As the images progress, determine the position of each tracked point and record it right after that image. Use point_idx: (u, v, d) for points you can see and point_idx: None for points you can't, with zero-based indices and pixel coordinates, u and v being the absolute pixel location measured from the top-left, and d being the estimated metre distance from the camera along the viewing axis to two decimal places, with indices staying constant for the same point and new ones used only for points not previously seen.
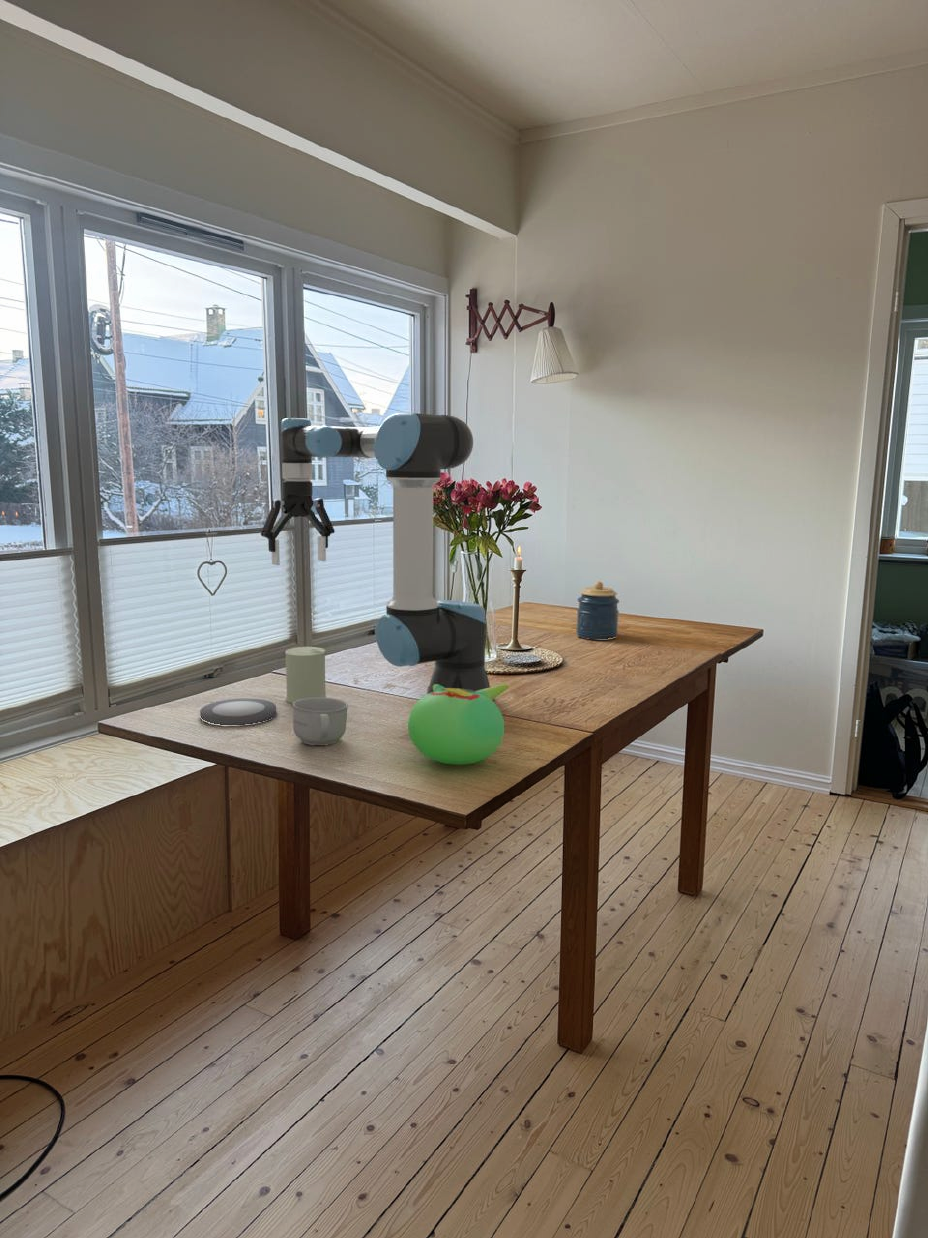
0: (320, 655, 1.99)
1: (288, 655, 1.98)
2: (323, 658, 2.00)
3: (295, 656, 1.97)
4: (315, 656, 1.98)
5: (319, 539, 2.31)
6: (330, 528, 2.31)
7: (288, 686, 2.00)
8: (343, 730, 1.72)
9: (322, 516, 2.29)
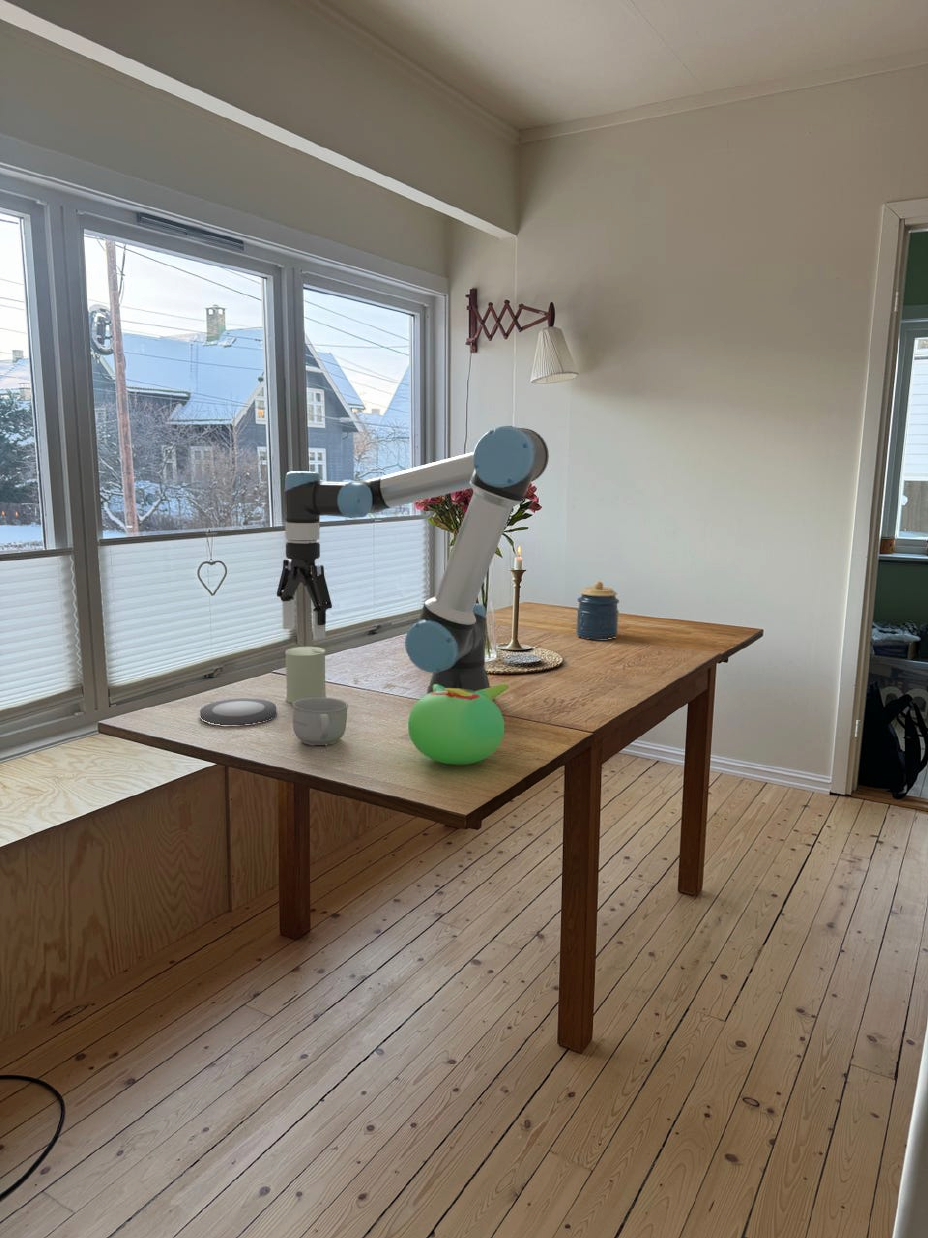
0: (320, 655, 1.99)
1: (288, 655, 1.98)
2: (323, 658, 2.00)
3: (295, 656, 1.97)
4: (315, 656, 1.98)
5: None
6: (319, 602, 1.91)
7: (288, 686, 2.00)
8: (343, 730, 1.72)
9: None
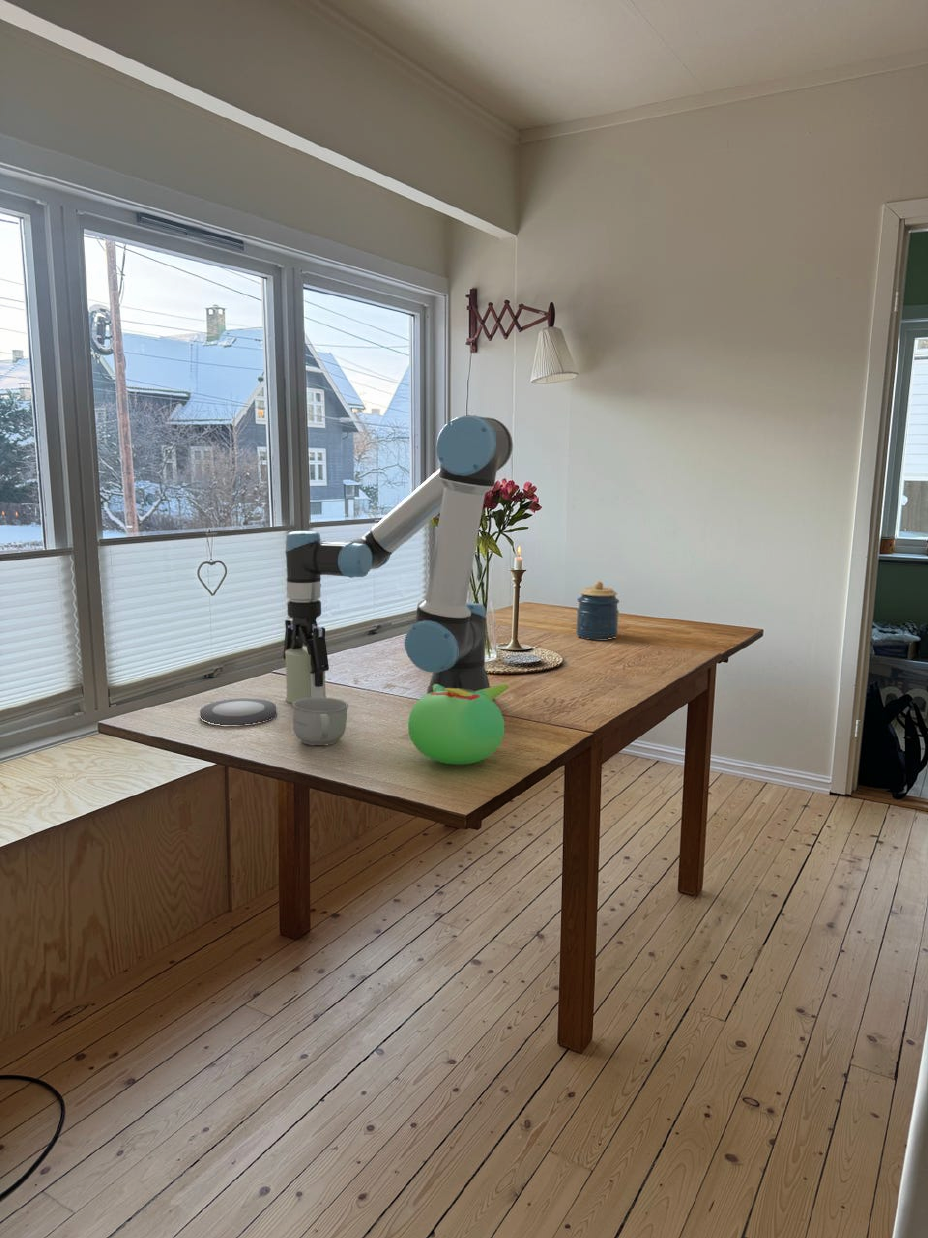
0: None
1: (288, 655, 1.98)
2: None
3: (295, 656, 1.97)
4: None
5: None
6: (317, 665, 1.95)
7: (288, 686, 2.00)
8: (343, 730, 1.72)
9: None
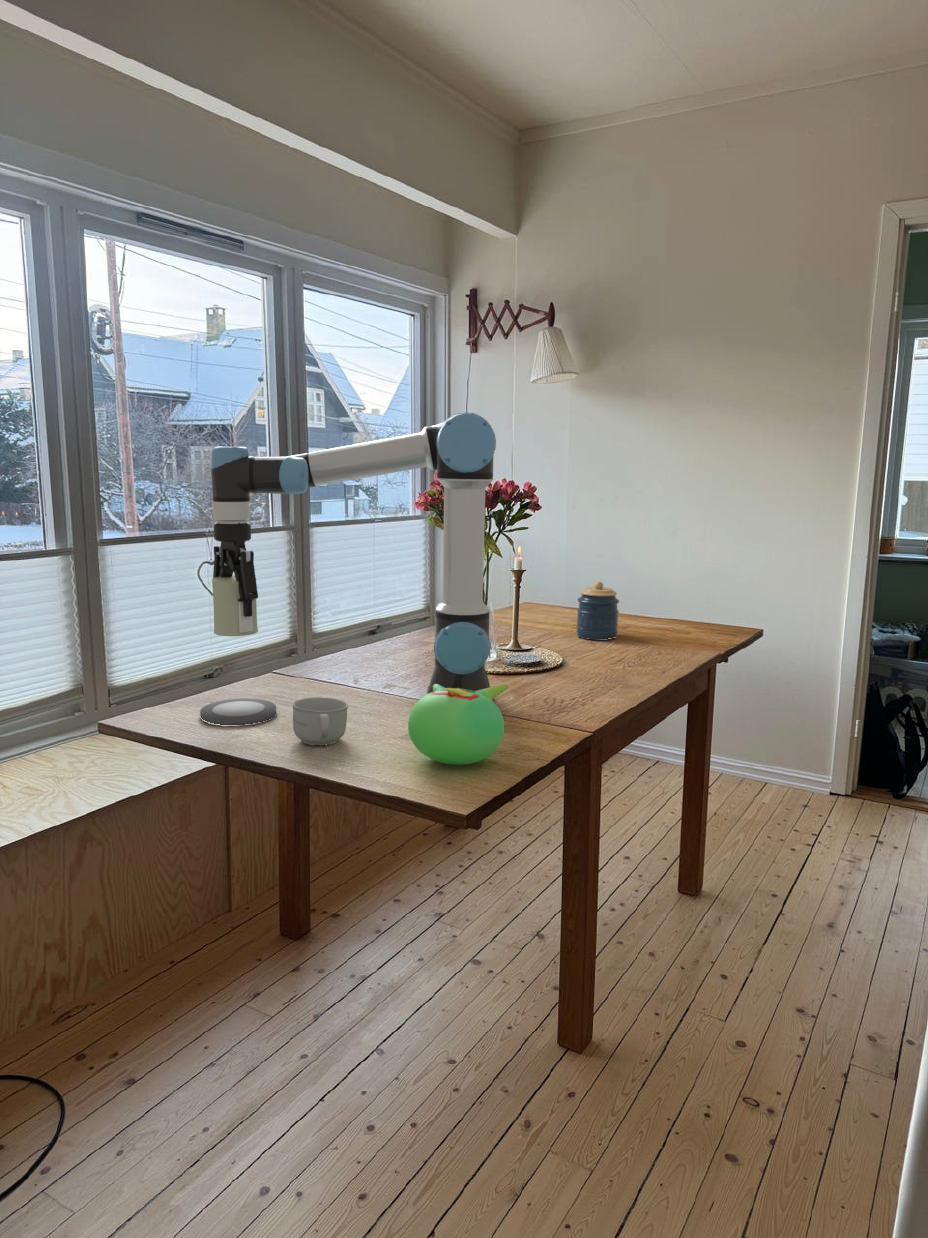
0: None
1: (214, 582, 1.82)
2: None
3: (221, 582, 1.80)
4: None
5: None
6: (244, 592, 1.79)
7: (215, 616, 1.84)
8: (343, 730, 1.72)
9: None
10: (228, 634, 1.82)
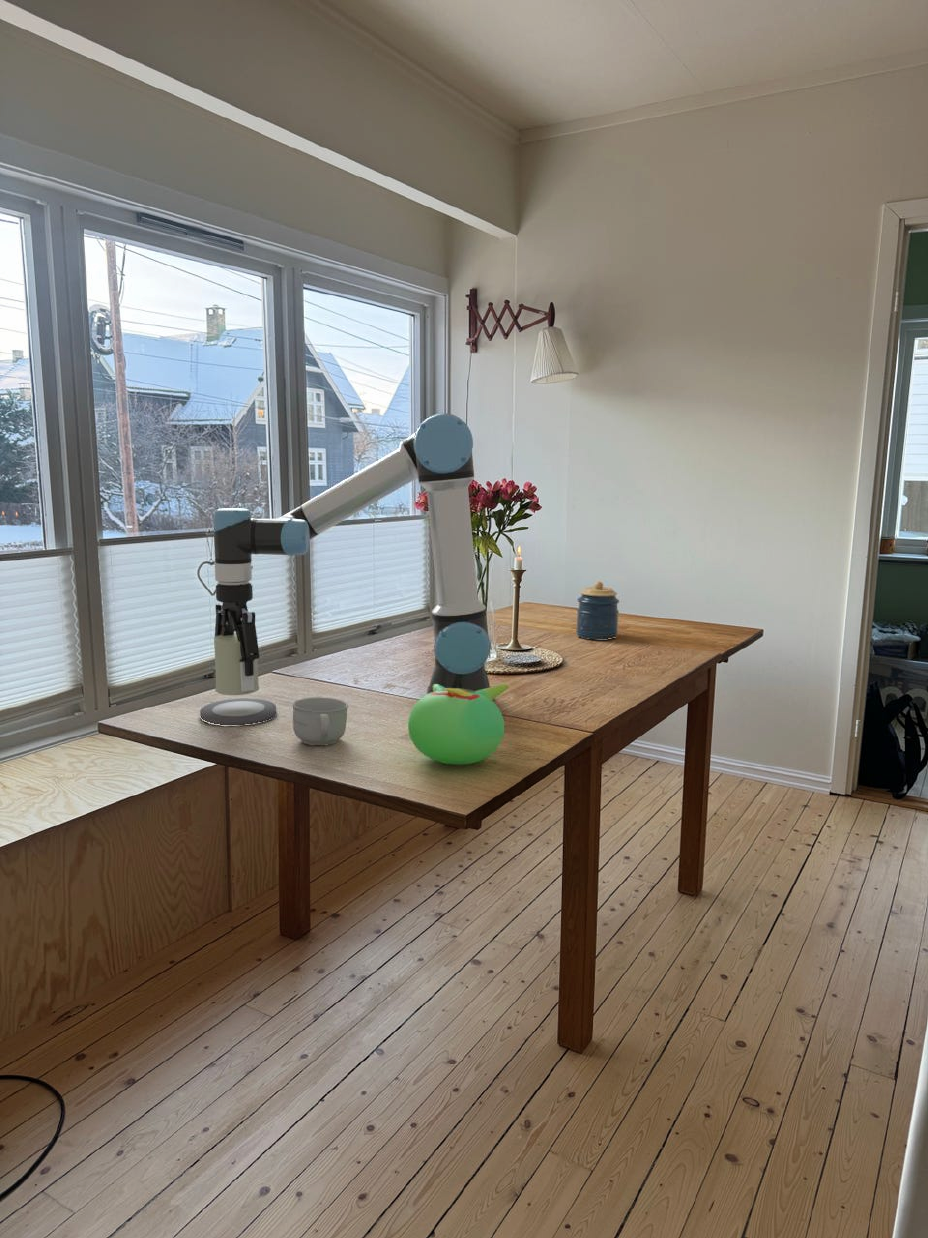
0: None
1: (216, 642, 1.84)
2: None
3: (223, 643, 1.83)
4: None
5: None
6: (246, 652, 1.81)
7: (217, 675, 1.86)
8: (343, 730, 1.72)
9: None
10: (229, 693, 1.85)
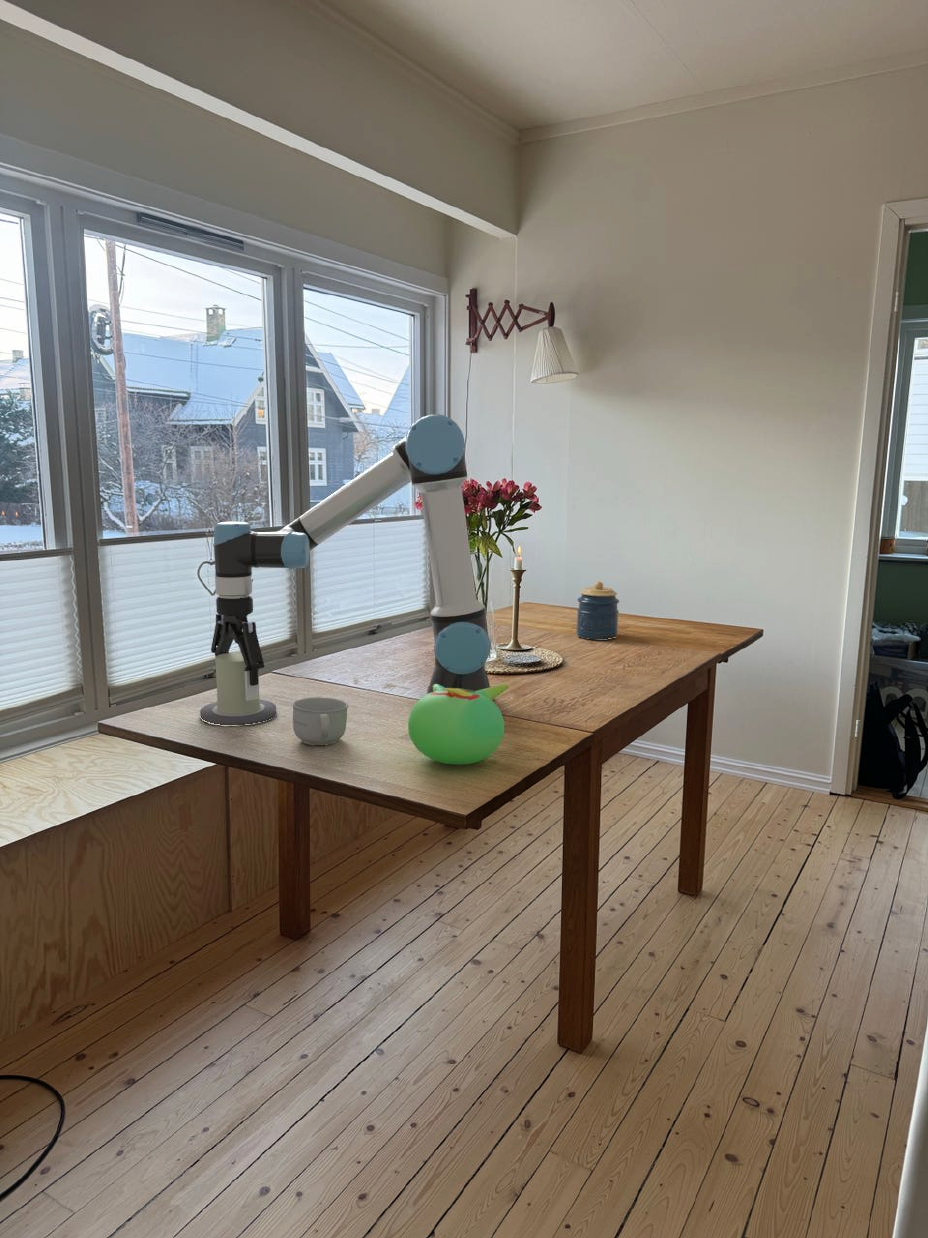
0: None
1: (217, 661, 1.85)
2: None
3: (224, 662, 1.84)
4: None
5: None
6: (250, 662, 1.80)
7: (218, 694, 1.87)
8: (343, 730, 1.72)
9: None
10: (231, 712, 1.85)
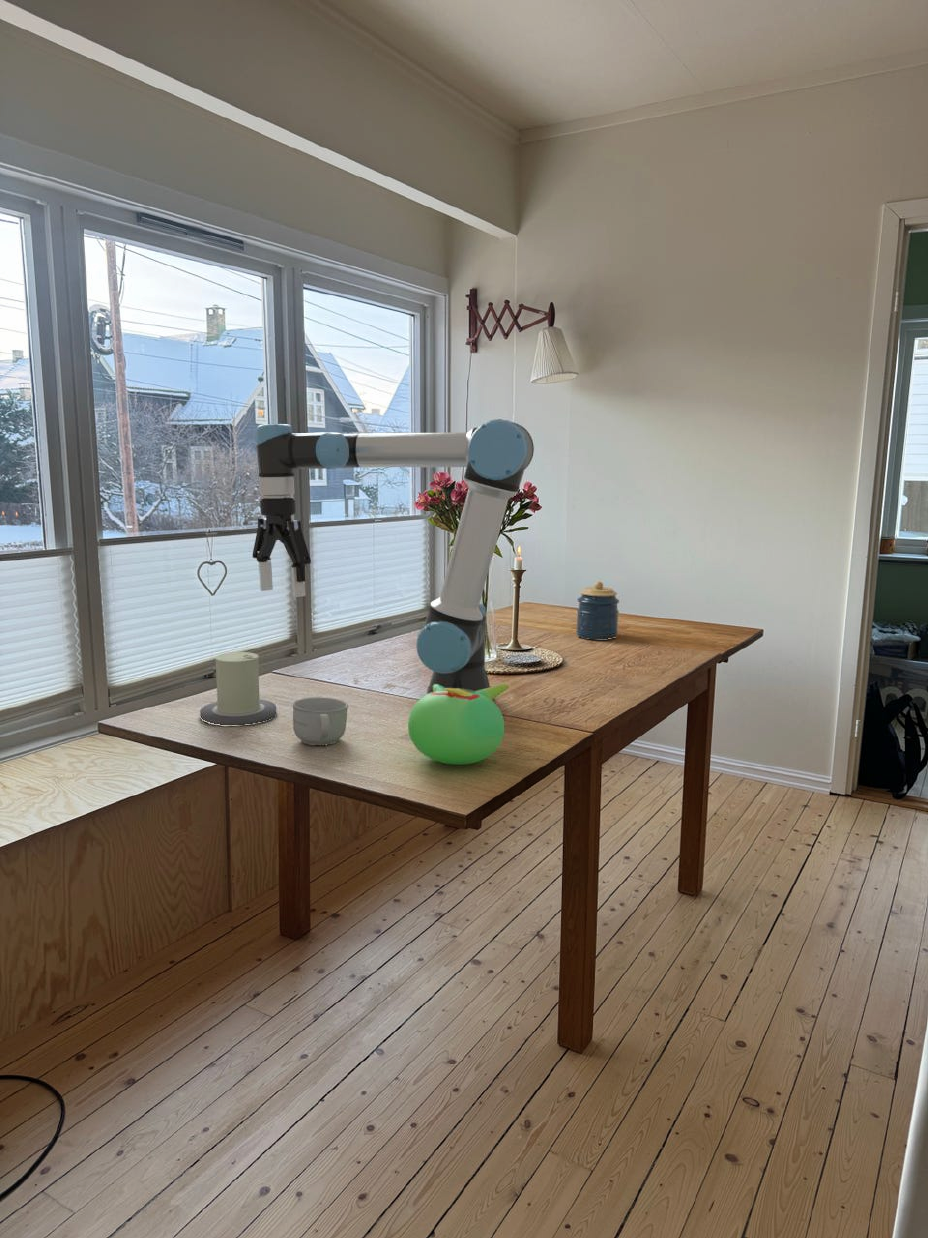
0: (252, 661, 1.86)
1: (217, 661, 1.85)
2: (256, 664, 1.87)
3: (224, 662, 1.84)
4: (246, 662, 1.84)
5: None
6: (297, 558, 1.85)
7: (218, 694, 1.87)
8: (343, 730, 1.72)
9: None
10: (231, 712, 1.85)
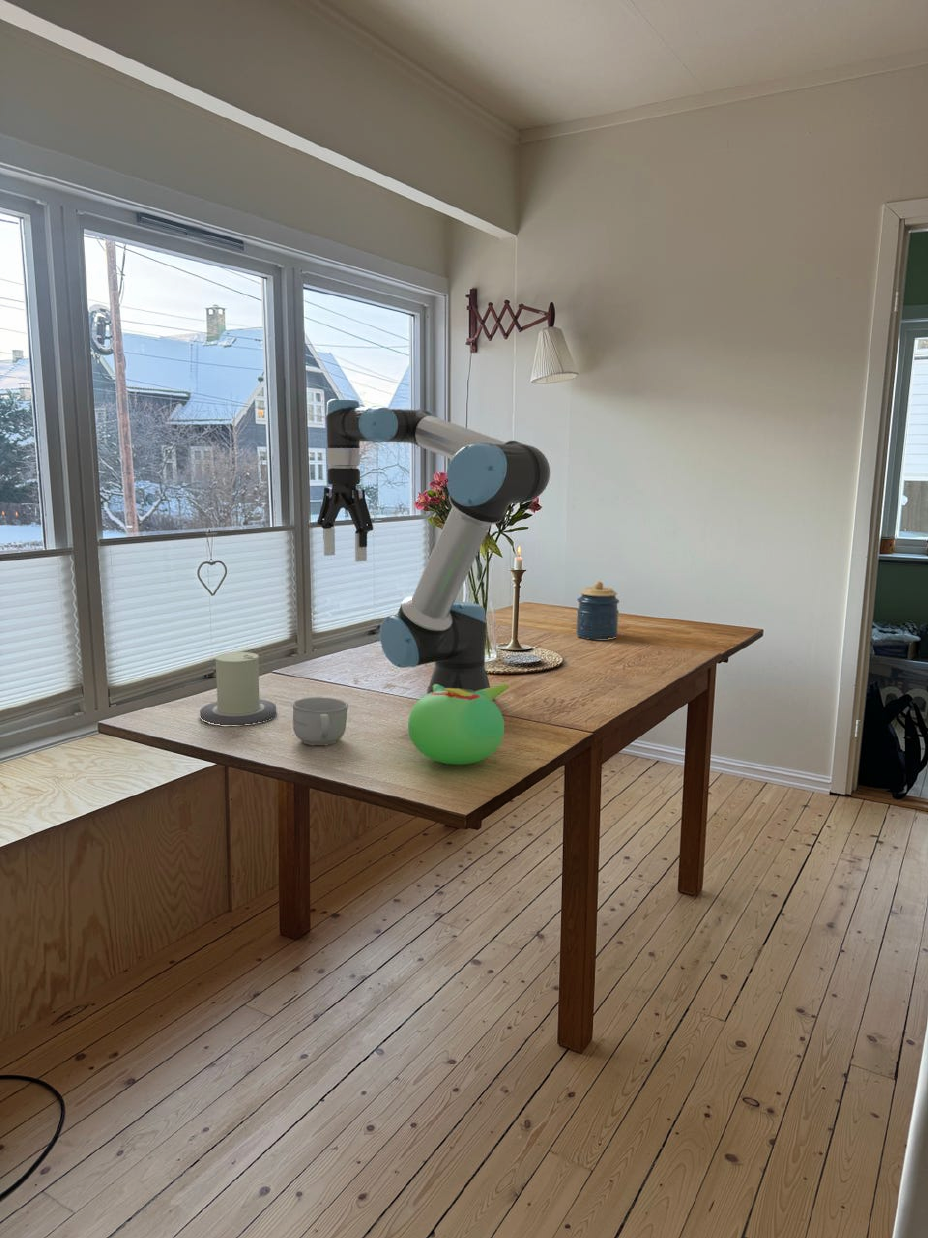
0: (252, 661, 1.86)
1: (217, 661, 1.85)
2: (256, 664, 1.87)
3: (225, 662, 1.84)
4: (246, 662, 1.84)
5: None
6: (361, 524, 1.99)
7: (218, 694, 1.87)
8: (343, 730, 1.72)
9: None
10: (231, 712, 1.85)
